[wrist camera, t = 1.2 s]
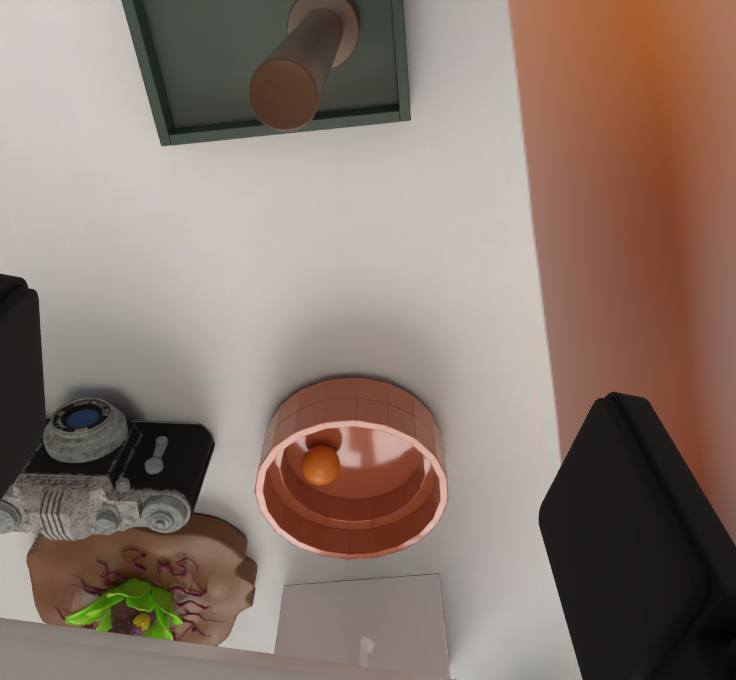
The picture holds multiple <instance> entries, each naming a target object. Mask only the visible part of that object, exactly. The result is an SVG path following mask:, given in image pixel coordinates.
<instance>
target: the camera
mask: <svg viewBox="0 0 736 680" xmlns="http://www.w3.org/2000/svg"><path fill="white" fill-rule="evenodd" d="M214 445H215V443H214V441H213V436H212V434H211V432H210V431H209V430H208V429H207V428H206V427H205V426H204V425H202V424H201V423H179V422H157V421H130V420H128V419H126V418H125V415H124V414H123V412H122V411H120V410H119V409H118V408H115V407H113V406H112V405H110V404H109V403H108V402H107V401H105V400H103V399H99V398H81V399H77V400H73V401H70V402H68V403H66V404H64V405H63V406H61V407H60V408H58V409H57V410H56V411H55V412H54V414H53V415H52V418H51V417H46V425H45V430H44V434H43V436H42V439H41V441H40V442H39V444H38V446H37V447H36V449H35V450H34V452H33V453H32V455H31V456H30V458H29V459H28V460H27V462H26V463H25V465H24V466H23V468H22V469H21V471H20V472H19V474H18V475H17V477H16V478H15V480H14V481H13V483H12V484H11V486H10V487H9V489H8V490H7V492H6V493H5V495H4V496H3V498H2V499H1V501H0V534H5V533H9V532H10V531H14V532H40V533H41V534H43V535H44V536H45V537H47V538H48V539H50V540H72V541H75V540H79V539H84V538H87V537H88V536H90V535H91V534H99V535H110V534H112V533H114V532H116V531H118V530H119V531H125V530H126V529H127V528H132V527H149V528H150V529H152V530H154V531H157V532H162V533H170V532H175V531H177V530H178V529H180V528H181V527H182V526H184V525H185V524H186V523H187V522H188V521H189V519H190V518H191V517H192V515H193V512H194V509H195V506H196V503H197V499H198V496H199V493H200V490H201V487H202V484H203V481H204V478H205V475H206V471H207V468H208V465H209V462H210V459H211V456H212V453H213V450H214Z"/></svg>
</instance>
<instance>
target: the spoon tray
mask: <svg viewBox="0 0 736 680" xmlns="http://www.w3.org/2000/svg"><path fill="white" fill-rule="evenodd" d="M296 1H297V0H122V3H123V7H124V11H125V14H126V18H127V22H128V26H129V29H130V33H131V37H132V40H133V44H134V48H135V51H136V55H137V59H138V62H139V66H140V70H141V73H142V77H143V81H144V84H145V88H146V92H147V95H148V99H149V103H150V106H151V110H152V114H153V117H154V121H155V125H156V128H157V132H158V136H159V139H160V143H161V146H170V145H180V144H190V143H199V142H209V141H219V140H228V139H238V138H248V137H257V136H267V135H276V134H286V133H296V132H305V131H315V130H325V129H334V128H344V127H354V126H363V125H373V124H382V123H392V122H400V121H401V122H402V121H410V120H411V114H410V99H409V83H408V68H407V53H406V37H405V22H404V7H403V0H352V1H353V2H354V4H355V5H356V7H357V10H358V13H359V17H360V33H359V38H358V43H357V46H356V48H355V50H354V52H353V54H352V55H351V57H350V58H349V59H348V60H347V61H346V62H345V63H343V64H342V65H340V66H338V67H336V68H333V69H331V71H330V74H329V77H328V79H327V82H326V85H325V88H324V91H323V93H322V96H321V99H320V102H319V105H318V108H317V110H316V113H315V115H314V116H313V118H312V119H311V121H310V122H309V123H308V124H307V125H305V126H304V127H302V128H300V129H298V130H295V131H291V132H281V131H276V130H273V129H271V128H269V127H267V126H266V125H264V124H263V123H262V122H261V121H260V120H259V119H258V118H257V117H256V115H255V114H254V112H253V110H252V108H251V106H250V103H249V98H248V86H249V82H250V79H251V76H252V74H253V73H254V71H255V70H256V69H257V67H258V66H259V65H260V64H261V63H262V62H263V61H264V60H265V59H266V58H267V57H268V56H269V55H270V54H271V53H272V52H273V51H274V50H275V49H276V48H277V47H278V45H279V44H280V43H281V42H282V41H283V40H284V39H285V38H286V37H287V19H288V15H289V13H290V10H291V8H292V6H293V5H294V3H295V2H296Z"/></svg>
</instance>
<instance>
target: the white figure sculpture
mask: <svg viewBox="0 0 736 680" xmlns="http://www.w3.org/2000/svg"><path fill="white" fill-rule="evenodd" d="M274 654H276V655H283V656H290V657H298V658H305V659H312V660H319V661H327V662H334V663H341V664H348V665H356V666H363V667H370V668H377V669H385V670H392V671H399V672H406V673H413V674H421V675H428V676H435V677H442V678H449V679H451V677H450V667H449V658H448V649H447V640H446V631H445V622H444V613H443V605H442V596H441V587H440V578H439V574H431V575H418V576H405V577H392V578H379V579H366V580H353V581H340V582H327V583H314V584H301V585H288V586H284V589H283V596H282V603H281V610H280V617H279V624H278V631H277V637H276V644H275V651H274Z"/></svg>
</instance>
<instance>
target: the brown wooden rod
mask: <svg viewBox="0 0 736 680" xmlns="http://www.w3.org/2000/svg"><path fill="white" fill-rule="evenodd" d="M359 33H360V17H359V13H358V10H357V7H356V5H355V4H354V2H353V1H352V0H297V1H296V2H295V3H294V5H293V6H292V8H291V10H290V13H289V15H288V19H287V37H286V38H285V39H284V40H283V41H282V42H281V43H280V44H279V45H278V47H277V48H276V49H275V50H274V51H273V52H272V53H271V54H270V55H269V56H268V57H267V58H266V59H265V60H264V61H263V62H262V63H261V64H260V65H259V66H258V67H257V69H256V70H255V71H254V73H253V74H252V76H251V79H250V82H249V86H248V98H249V103H250V106H251V108H252V110H253V112H254V114H255V115H256V117H257V118H258V119H259V120H260V121H261V122H262V123H263V124H264V125H266V126H267V127H269V128H271V129H273V130H276V131H281V132H291V131H295V130H298V129H300V128H302V127H304V126H305V125H307V124H308V123H309V122H310V121H311V119H312V118H313V116H314V115H315V113H316V110H317V108H318V105H319V102H320V99H321V96H322V93H323V91H324V88H325V85H326V82H327V79H328V77H329V74H330V71H331V69H333V68H336V67H338V66H340V65H342V64H343V63H345V62H346V61H347V60H348V59H349V58H350V57H351V55H352V54H353V52H354V50H355V48H356V46H357V43H358V38H359Z"/></svg>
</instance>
